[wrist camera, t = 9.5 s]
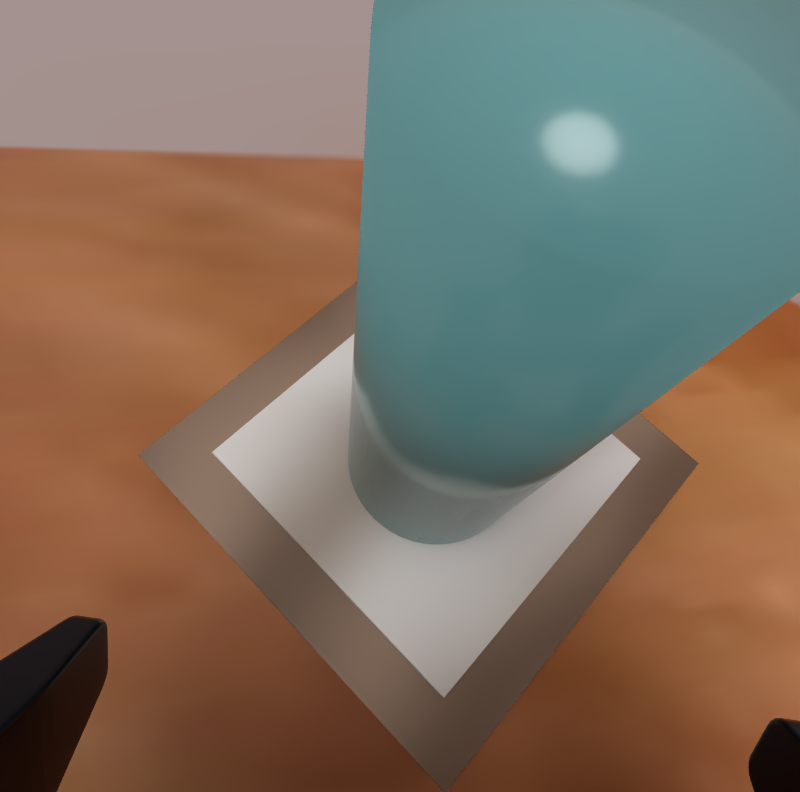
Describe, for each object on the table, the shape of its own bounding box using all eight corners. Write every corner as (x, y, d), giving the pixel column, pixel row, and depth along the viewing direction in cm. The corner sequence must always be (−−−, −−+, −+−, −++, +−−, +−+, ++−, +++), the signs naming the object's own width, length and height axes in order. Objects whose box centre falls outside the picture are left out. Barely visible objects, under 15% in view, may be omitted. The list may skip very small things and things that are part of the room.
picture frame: (661, 481, 21) (705, 459, 18) (430, 773, 17) (448, 797, 14) (415, 266, 23) (425, 221, 21) (159, 476, 19) (133, 450, 16)
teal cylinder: (550, 459, 18) (996, 80, 6) (438, 584, 16) (735, 416, 4) (429, 349, 19) (592, -168, 7) (311, 455, 17) (249, 18, 5)
